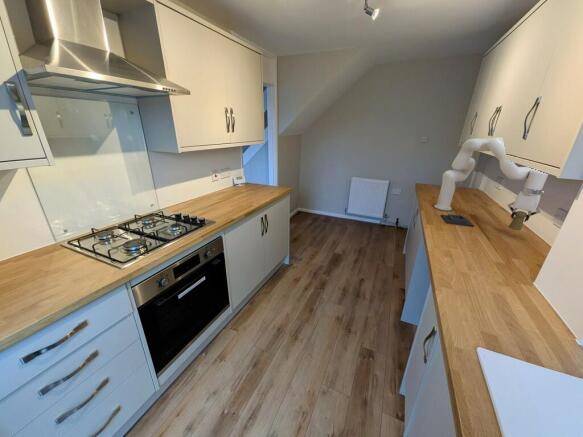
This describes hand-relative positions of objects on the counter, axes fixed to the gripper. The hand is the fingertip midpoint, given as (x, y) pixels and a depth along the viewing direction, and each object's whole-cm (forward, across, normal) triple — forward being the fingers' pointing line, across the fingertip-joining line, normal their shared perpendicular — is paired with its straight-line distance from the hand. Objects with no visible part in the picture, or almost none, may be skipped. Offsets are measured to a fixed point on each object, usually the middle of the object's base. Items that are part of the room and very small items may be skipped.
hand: (518, 219), depth 145 cm
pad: (+12, +31, -2) cm, 33 cm away
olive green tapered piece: (+6, 0, 0) cm, 6 cm away
